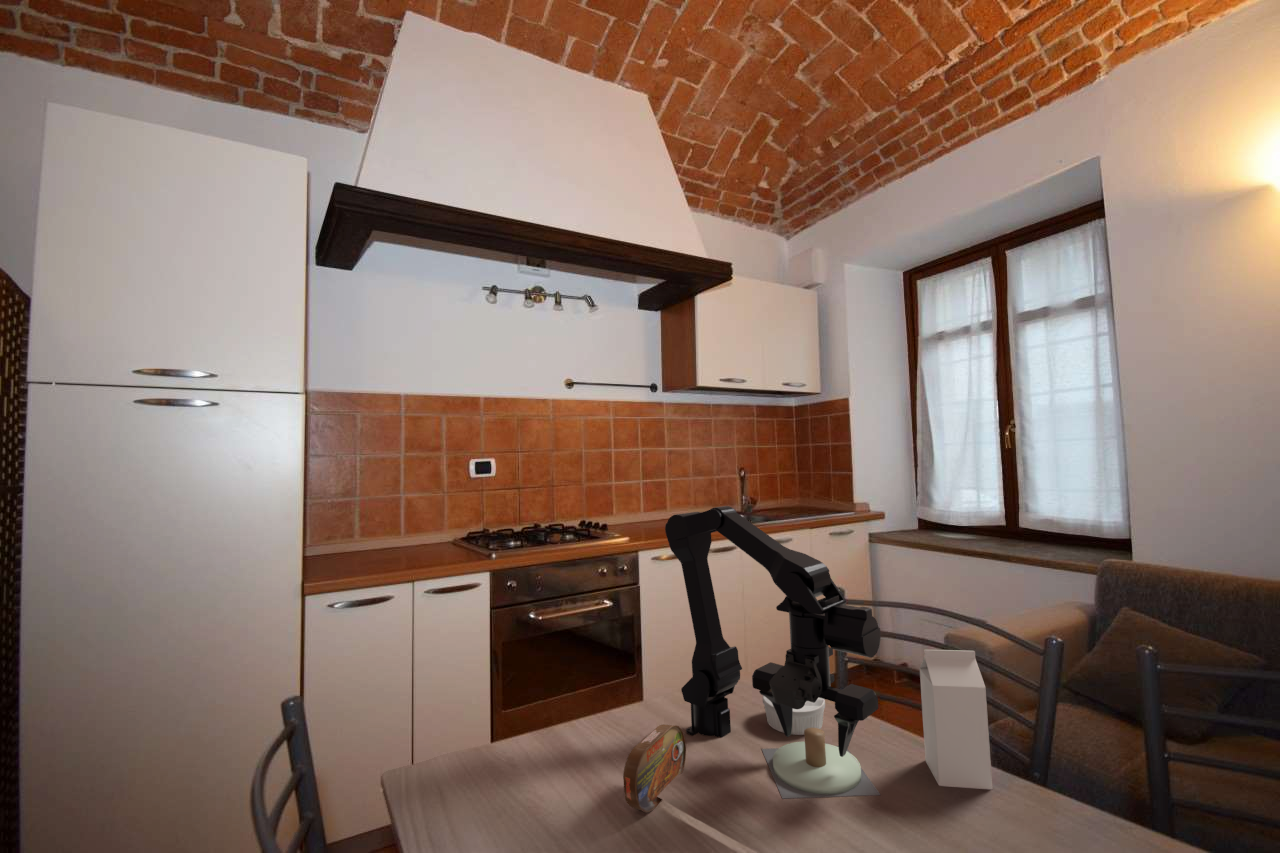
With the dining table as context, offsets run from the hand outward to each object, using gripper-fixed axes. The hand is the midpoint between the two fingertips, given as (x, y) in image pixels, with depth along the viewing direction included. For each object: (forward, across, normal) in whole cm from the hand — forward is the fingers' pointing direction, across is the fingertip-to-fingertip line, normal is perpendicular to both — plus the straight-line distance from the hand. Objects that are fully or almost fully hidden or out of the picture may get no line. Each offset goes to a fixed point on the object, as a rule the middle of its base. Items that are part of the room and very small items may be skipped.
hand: (814, 745), depth 89 cm
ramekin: (+5, -11, +12) cm, 17 cm away
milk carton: (+5, +16, +13) cm, 21 cm away
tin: (+5, -15, -20) cm, 25 cm away
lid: (+4, 0, 0) cm, 4 cm away
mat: (+4, 0, 0) cm, 5 cm away
